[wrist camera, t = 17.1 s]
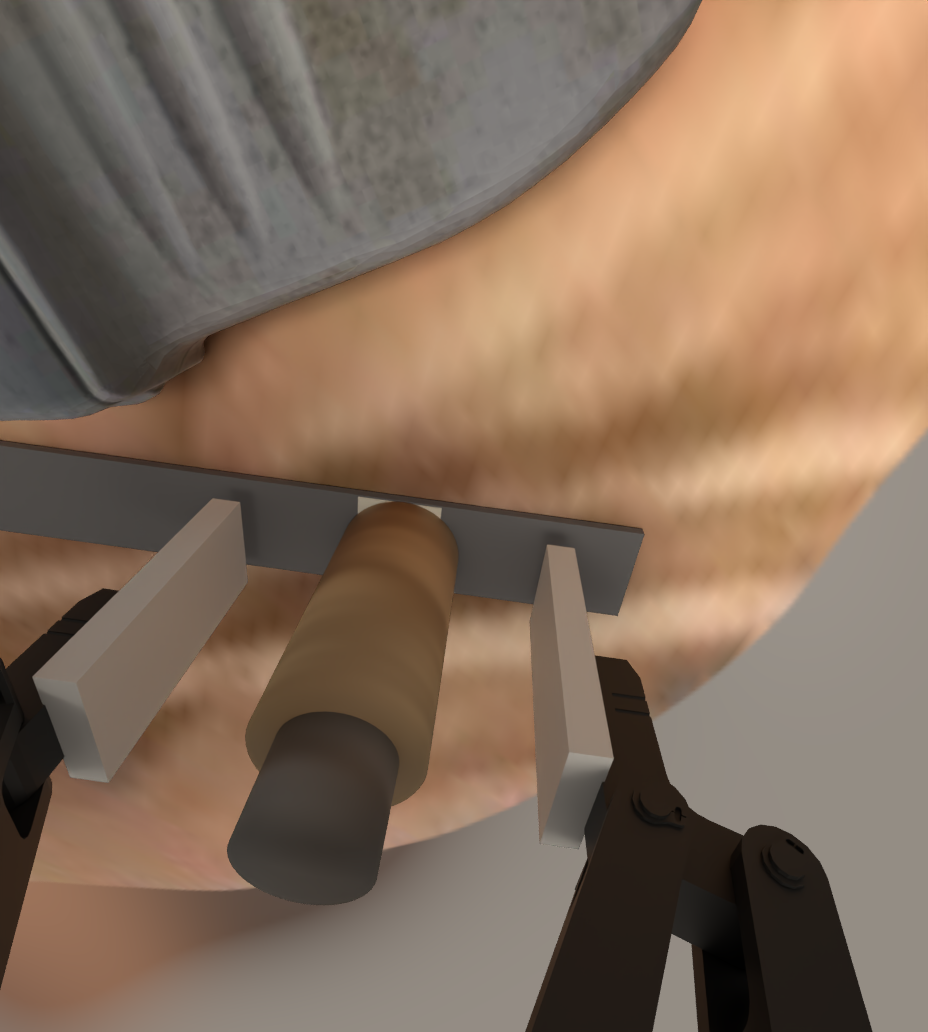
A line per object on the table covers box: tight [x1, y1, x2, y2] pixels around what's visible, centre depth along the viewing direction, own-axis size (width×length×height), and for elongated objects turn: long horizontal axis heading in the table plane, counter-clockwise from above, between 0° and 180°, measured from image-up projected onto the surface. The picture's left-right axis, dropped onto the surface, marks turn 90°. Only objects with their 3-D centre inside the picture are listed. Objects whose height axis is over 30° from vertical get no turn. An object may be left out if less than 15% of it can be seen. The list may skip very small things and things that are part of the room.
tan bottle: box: [227, 502, 459, 905], centre depth 13 cm, size 4×4×9 cm
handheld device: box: [0, 0, 702, 421], centre depth 10 cm, size 10×20×5 cm, turn 110°
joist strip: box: [0, 441, 644, 616], centre depth 17 cm, size 20×3×1 cm, turn 83°
